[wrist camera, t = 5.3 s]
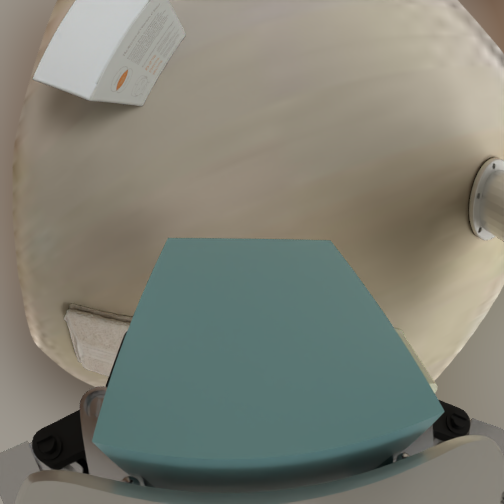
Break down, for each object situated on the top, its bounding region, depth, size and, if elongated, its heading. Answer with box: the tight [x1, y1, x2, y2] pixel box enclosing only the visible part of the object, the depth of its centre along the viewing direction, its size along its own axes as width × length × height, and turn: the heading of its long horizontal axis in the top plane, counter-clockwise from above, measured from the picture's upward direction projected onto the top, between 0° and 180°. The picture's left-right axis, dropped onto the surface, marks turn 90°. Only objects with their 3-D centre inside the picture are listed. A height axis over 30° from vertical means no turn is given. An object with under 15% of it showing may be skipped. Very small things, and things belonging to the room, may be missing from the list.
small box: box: [33, 0, 186, 106], centre depth 13 cm, size 8×6×10 cm
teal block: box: [92, 238, 445, 493], centre depth 8 cm, size 6×6×8 cm
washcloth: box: [64, 304, 133, 377], centre depth 31 cm, size 12×18×3 cm, turn 79°
